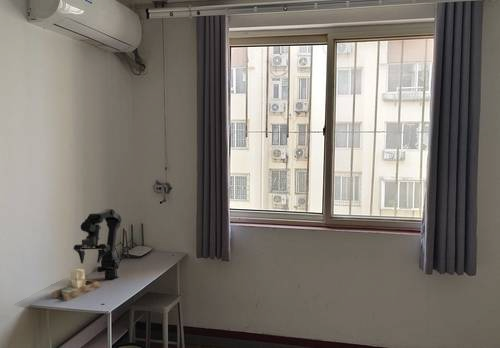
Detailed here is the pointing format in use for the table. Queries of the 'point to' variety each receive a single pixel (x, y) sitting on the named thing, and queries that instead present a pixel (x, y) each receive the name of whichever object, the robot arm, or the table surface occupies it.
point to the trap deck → (75, 290)
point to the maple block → (78, 278)
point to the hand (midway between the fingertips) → (89, 263)
